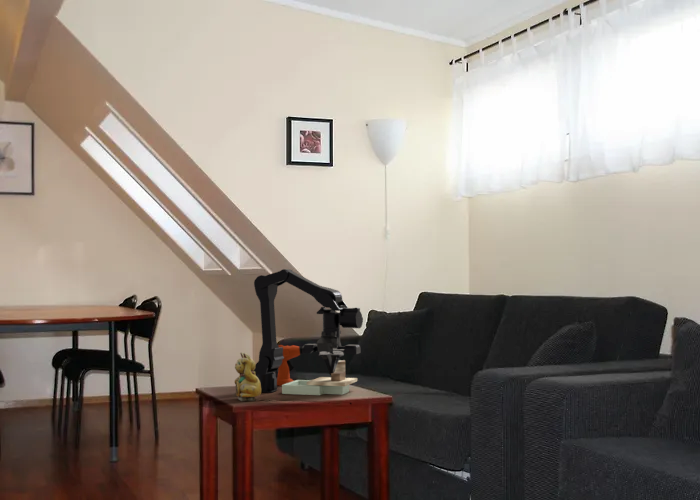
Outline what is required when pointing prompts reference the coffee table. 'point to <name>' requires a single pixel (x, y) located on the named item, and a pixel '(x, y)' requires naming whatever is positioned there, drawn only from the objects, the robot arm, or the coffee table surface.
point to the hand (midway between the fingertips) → (331, 375)
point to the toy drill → (287, 363)
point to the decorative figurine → (246, 379)
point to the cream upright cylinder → (340, 366)
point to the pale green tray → (312, 388)
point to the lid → (333, 380)
